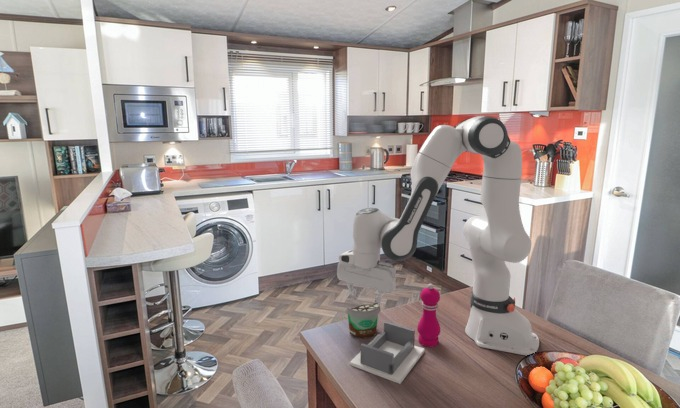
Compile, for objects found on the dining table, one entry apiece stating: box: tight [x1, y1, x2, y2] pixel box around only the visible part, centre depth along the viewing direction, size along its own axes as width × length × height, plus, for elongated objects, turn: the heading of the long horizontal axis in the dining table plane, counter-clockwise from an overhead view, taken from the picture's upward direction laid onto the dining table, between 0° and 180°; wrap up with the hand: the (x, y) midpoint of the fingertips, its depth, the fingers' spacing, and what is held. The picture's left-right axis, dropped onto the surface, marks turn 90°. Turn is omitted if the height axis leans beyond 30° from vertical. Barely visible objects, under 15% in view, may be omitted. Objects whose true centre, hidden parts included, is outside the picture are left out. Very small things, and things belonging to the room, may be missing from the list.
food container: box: [345, 302, 381, 339], centre depth 130 cm, size 12×6×10 cm, turn 114°
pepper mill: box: [417, 283, 441, 348], centre depth 125 cm, size 7×7×20 cm
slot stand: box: [349, 321, 425, 385], centre depth 117 cm, size 16×18×7 cm
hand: (365, 298), depth 128 cm, fingers open, 8 cm apart
